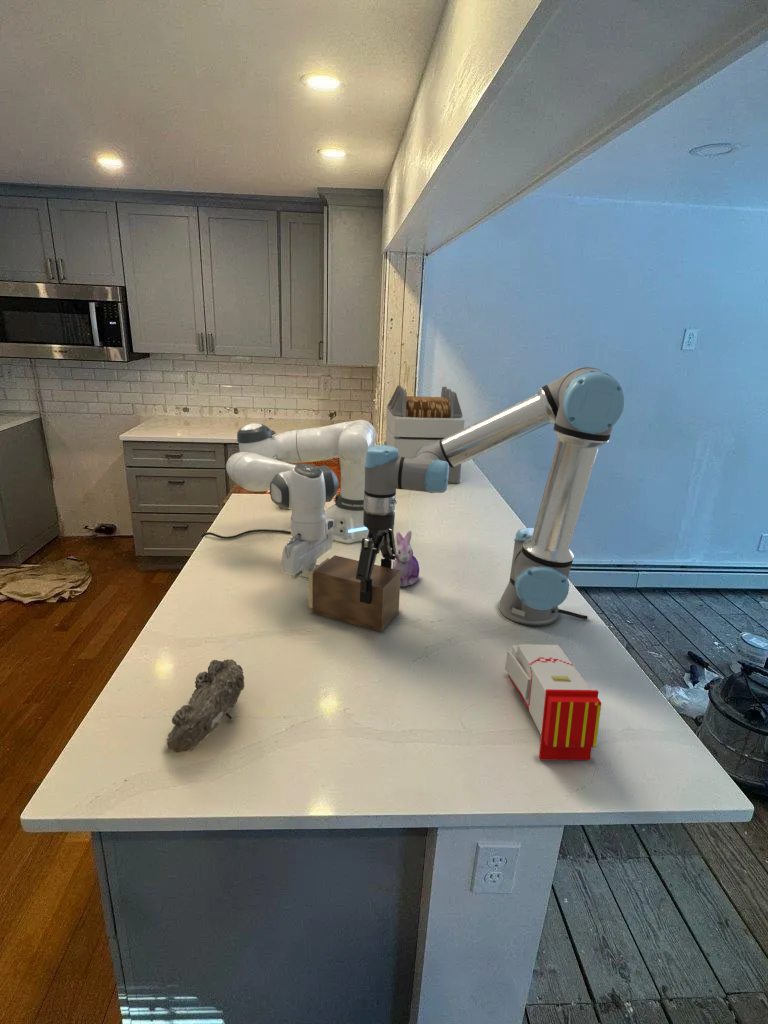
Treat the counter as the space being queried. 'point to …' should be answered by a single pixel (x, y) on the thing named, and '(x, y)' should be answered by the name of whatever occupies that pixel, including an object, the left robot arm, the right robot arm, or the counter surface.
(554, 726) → the toy
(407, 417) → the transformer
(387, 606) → the cabinet
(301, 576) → the drawer
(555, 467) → the right robot arm
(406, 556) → the figurine
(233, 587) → the counter surface
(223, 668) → the fossil
